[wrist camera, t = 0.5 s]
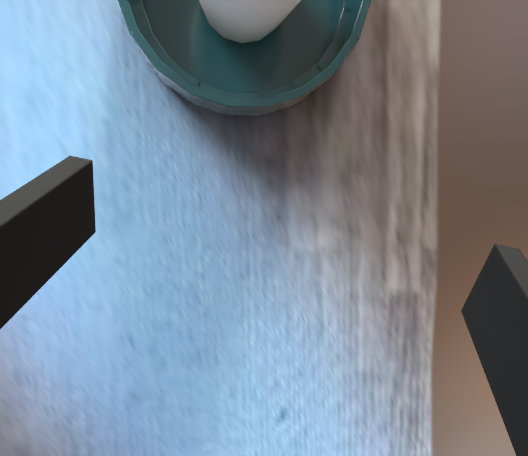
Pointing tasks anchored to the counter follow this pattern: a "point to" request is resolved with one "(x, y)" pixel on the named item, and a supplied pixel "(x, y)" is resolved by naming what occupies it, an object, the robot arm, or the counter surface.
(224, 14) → the foam cup
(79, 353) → the counter surface
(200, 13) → the bowl
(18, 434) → the counter surface
